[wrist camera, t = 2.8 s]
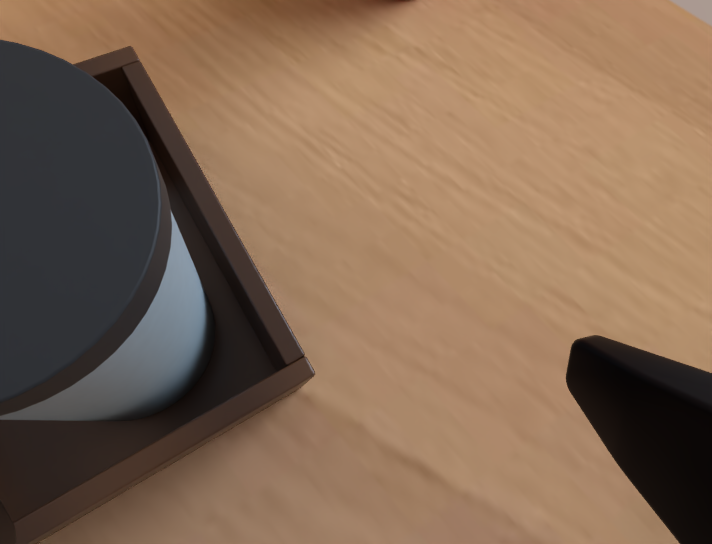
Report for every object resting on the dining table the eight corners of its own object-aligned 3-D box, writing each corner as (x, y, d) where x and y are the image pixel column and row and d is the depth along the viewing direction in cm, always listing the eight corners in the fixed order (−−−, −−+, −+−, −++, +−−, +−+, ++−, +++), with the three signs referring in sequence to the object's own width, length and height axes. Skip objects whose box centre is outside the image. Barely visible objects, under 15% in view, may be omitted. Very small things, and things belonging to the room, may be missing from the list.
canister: (194, 437, 19) (91, 459, 8) (6, 407, 19) (-433, 380, 7) (235, 271, 22) (203, 86, 10) (67, 237, 21) (-188, -9, 9)
